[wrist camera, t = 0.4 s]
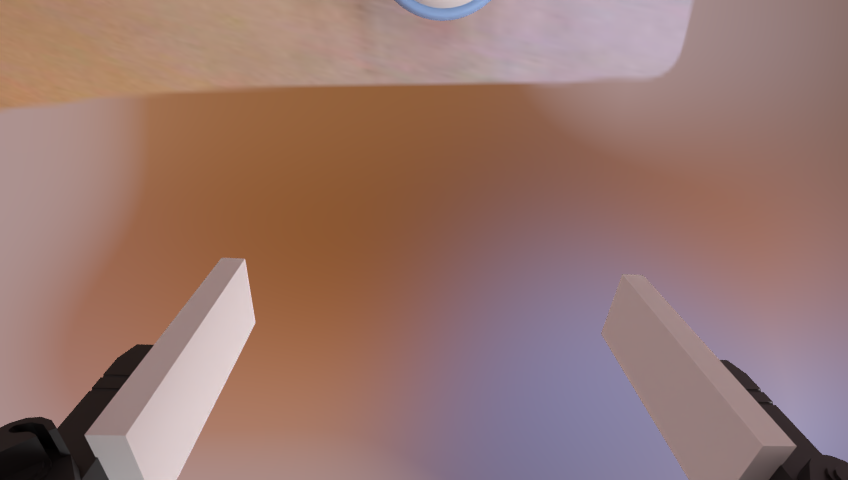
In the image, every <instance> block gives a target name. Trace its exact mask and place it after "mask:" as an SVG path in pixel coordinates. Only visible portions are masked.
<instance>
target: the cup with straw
mask: <svg viewBox="0 0 848 480" xmlns="http://www.w3.org/2000/svg"><path fill="white" fill-rule="evenodd" d="M395 1H396V2H397V3H398V4H399V5H400V6H402V7H403V8H405V9H406V10H408V11H409V12H411V13H413V14H415V15H417V16H420V17H423V18H426V19H431V20H439V21H445V20H454V19H459V18H462V17H465V16H467V15H470V14H472V13H474V12H476V11H478V10H479V9H480V8H482V7H483V6H485V5H486V4H487V3H488V2H490V1H491V0H395Z"/></svg>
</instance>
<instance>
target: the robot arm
mask: <svg viewBox="0 0 848 480" xmlns="http://www.w3.org/2000/svg"><path fill="white" fill-rule="evenodd" d="M254 324H255V317H254V311H253V305H252V299H251V293H250V287H249V280H248V274H247V268H246V262H245V259H237V258H221V259H220V261H219V262H218V263H217V264H216V266H215V267H214V268H213V270H212V271H211V272H210V273H209V275H208V276H207V277H206V279H205V280H204V281H203V282H202V284H201V285H200V286H199V288H198V289H197V290H196V292H195V293H194V294H193V295H192V297H191V298H190V299H189V301H188V302H187V303H186V304H185V306H184V307H183V308H182V310H181V311H180V312H179V313H178V315H177V316H176V317H175V319H174V320H173V321H172V322H171V324H170V325H169V327H168V328H167V329H166V330H165V332H164V333H163V334H162V335H161V337H160V338H159V339H158V341H157V342H156V343H155V344H154V345H136V346H134V347H133V348H131V349H130V350H128V351H127V352H125V353H124V354H123V355H121V356H120V357H118V358H117V359H116V360H115V362H114V363H113V364H112V365H111V366H110V368H109V369H108V370H107V371H106V372H105V373H104V376H103V378H100V379H99V380H98V381H97V383H96V384H95V385H94V386H93V387H92V391H89V392H88V393H87V394H86V396H85V397H84V398H83V399H82V400H81V402H80V403H79V404H78V405H77V406H76V407H75V408H74V410H73V411H72V412H71V413H70V414H69V416H68V417H67V418H66V419H65V420H64V421H63V422H62V424H61V425H60V426H59V427H58V428H56V427H55V425H54V423H53V422H52V420H49V419H45V418H43V417H35V418H25V419H22V420H18V421H15V422H12V423H9V424H7V425H5V426H3V427H1V428H0V480H177V478H178V476H179V474H180V472H181V470H182V468H183V466H184V464H185V462H186V460H187V458H188V456H189V454H190V452H191V450H192V448H193V446H194V444H195V442H196V440H197V438H198V436H199V434H200V432H201V430H202V428H203V426H204V424H205V422H206V420H207V418H208V416H209V414H210V412H211V410H212V408H213V406H214V404H215V402H216V400H217V398H218V396H219V394H220V392H221V390H222V388H223V386H224V384H225V382H226V380H227V378H228V376H229V374H230V372H231V370H232V368H233V366H234V364H235V362H236V360H237V358H238V356H239V354H240V352H241V350H242V348H243V346H244V344H245V342H246V340H247V338H248V336H249V334H250V332H251V330H252V328H253V326H254ZM601 334H602V336H603V338H604V339H605V341H606V343H607V344H608V346H609V347H610V349H611V351H612V352H613V354H614V356H615V358H616V359H617V361H618V363H619V364H620V366H621V368H622V369H623V371H624V373H625V374H626V376H627V378H628V379H629V381H630V383H631V384H632V386H633V388H634V389H635V391H636V393H637V394H638V396H639V398H640V399H641V401H642V403H643V404H644V406H645V407H646V409H647V411H648V413H649V414H650V416H651V417H652V419H653V421H654V423H655V424H656V426H657V427H658V429H659V431H660V432H661V434H662V436H663V437H664V439H665V441H666V442H667V444H668V446H669V447H670V449H671V451H672V452H673V454H674V456H675V457H676V459H677V461H678V462H679V464H680V466H681V467H682V469H683V471H684V472H685V474H686V476H687V477H688V479H689V480H848V463H847V462H845V461H843V460H840V459H838V458H835V457H832V456H828V455H822V454H821V453H820V452H819V451H818V450H817V449H816V448H815V447H814V446H813V444H812V443H811V442H810V441H809V440H808V439H807V438H806V437H805V436H804V435H803V434H802V433H801V432H800V431H799V430H798V429H797V428H796V427H795V425H794V424H793V423H792V422H791V421H790V420H789V419H788V418H787V417H786V416H785V415H784V414H783V413H782V412H781V410H780V409H779V408H778V407H777V406H776V405H773V402H772V401H771V400H770V399H769V398H768V396H767V395H766V394H765V393H764V392H761V389H760V388H759V387H758V386H757V385H756V384H755V383H754V382H753V381H752V380H751V378H750V377H749V376H748V375H747V374H746V373H744V372H743V371H741V370H740V369H739V368H737V367H736V366H734V365H733V364H732V363H730V362H729V361H727V360H719V359H718V358H717V357H716V356H715V355H714V354H713V352H712V351H711V350H710V349H709V348H708V347H707V346H706V345H705V344H704V342H703V341H702V340H701V339H700V338H699V337H698V336H697V335H696V333H695V332H694V331H693V330H692V329H691V328H690V327H689V326H688V325H687V324H686V322H685V321H684V320H683V319H682V318H681V317H680V316H679V315H678V313H677V312H676V311H675V310H674V309H673V308H672V307H671V306H670V305H669V303H668V302H667V301H666V300H665V299H664V298H663V297H662V296H661V294H660V293H659V292H658V291H657V290H656V289H655V288H654V287H653V286H652V284H651V283H650V282H649V281H648V280H647V279H646V278H645V277H644V276H643V275H628V274H623V275H622V277H621V280H620V282H619V285H618V288H617V291H616V294H615V296H614V299H613V302H612V305H611V308H610V311H609V313H608V316H607V319H606V322H605V324H604V327H603V330H602V333H601Z"/></svg>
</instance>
